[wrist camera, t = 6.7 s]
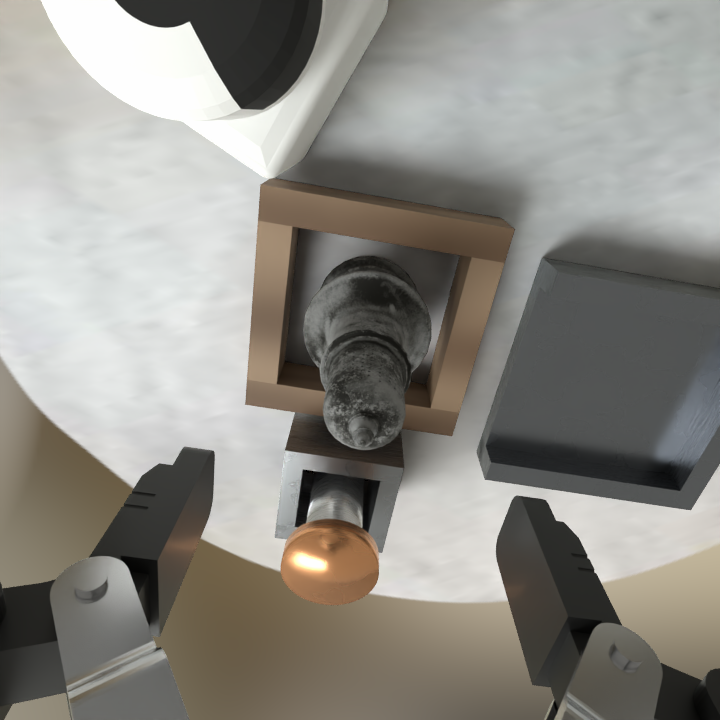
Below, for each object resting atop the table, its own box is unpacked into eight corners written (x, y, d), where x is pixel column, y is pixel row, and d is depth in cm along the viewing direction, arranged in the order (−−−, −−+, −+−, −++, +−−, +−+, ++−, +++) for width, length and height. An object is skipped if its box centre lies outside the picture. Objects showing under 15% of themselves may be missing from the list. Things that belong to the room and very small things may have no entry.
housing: (297, 402, 28) (284, 450, 24) (399, 418, 29) (403, 468, 25) (287, 482, 31) (274, 537, 27) (381, 496, 31) (382, 552, 27)
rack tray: (542, 257, 24) (559, 272, 22) (772, 297, 25) (811, 315, 23) (476, 451, 30) (484, 479, 27) (667, 480, 30) (690, 510, 28)
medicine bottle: (234, -122, 18) (32, -458, 8) (390, 8, 20) (408, -116, 9) (157, 64, 21) (-71, 12, 10) (300, 165, 23) (232, 210, 12)
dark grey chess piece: (343, 372, 27) (323, 538, 17) (291, 281, 25) (228, 405, 14) (442, 330, 26) (488, 481, 15) (396, 230, 24) (413, 325, 13)
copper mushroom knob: (306, 433, 27) (285, 529, 21) (384, 445, 27) (387, 543, 21) (297, 494, 29) (276, 597, 23) (370, 504, 29) (369, 610, 23)
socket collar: (271, 177, 23) (260, 184, 21) (501, 218, 23) (515, 229, 21) (255, 381, 28) (245, 404, 26) (446, 410, 28) (452, 436, 26)
